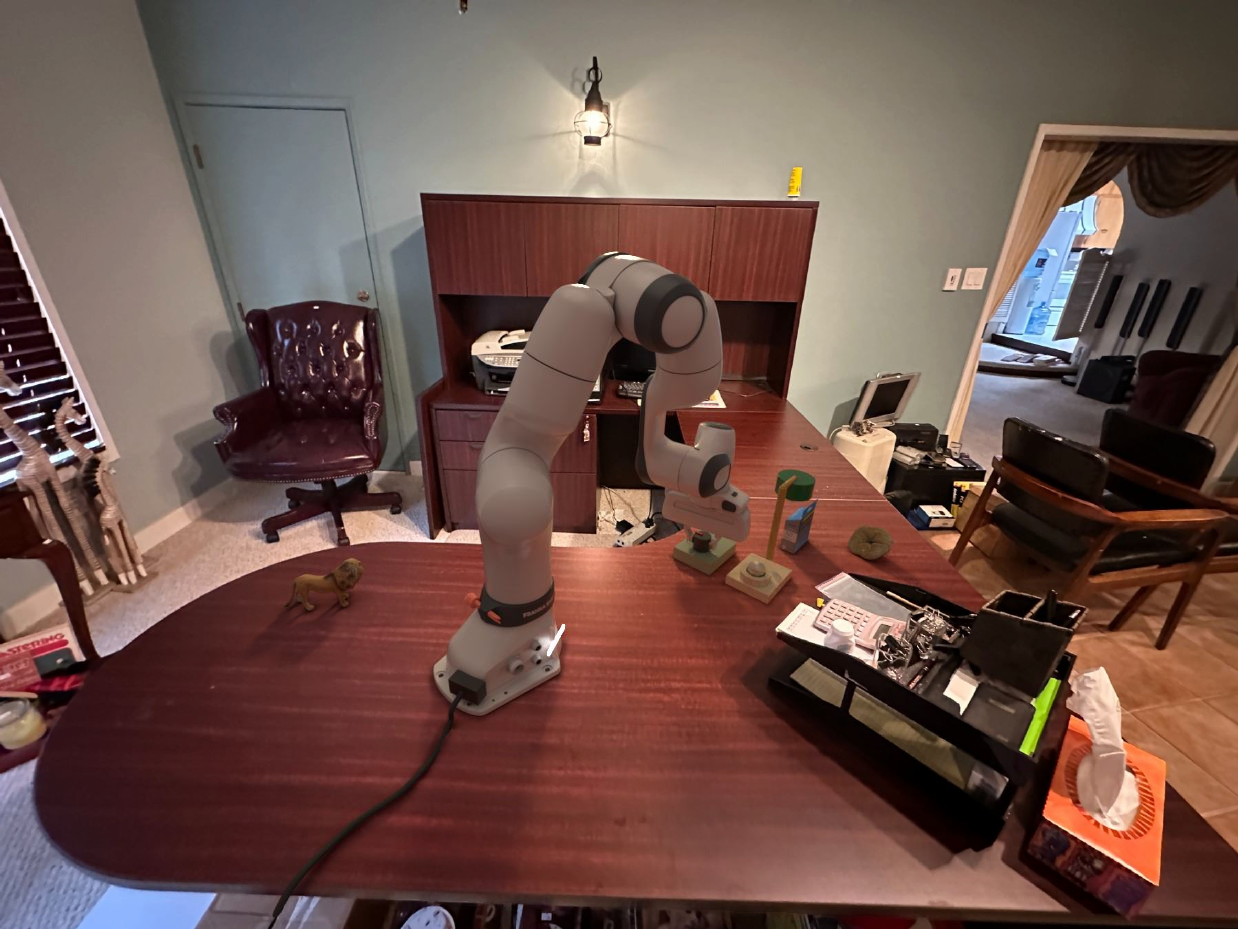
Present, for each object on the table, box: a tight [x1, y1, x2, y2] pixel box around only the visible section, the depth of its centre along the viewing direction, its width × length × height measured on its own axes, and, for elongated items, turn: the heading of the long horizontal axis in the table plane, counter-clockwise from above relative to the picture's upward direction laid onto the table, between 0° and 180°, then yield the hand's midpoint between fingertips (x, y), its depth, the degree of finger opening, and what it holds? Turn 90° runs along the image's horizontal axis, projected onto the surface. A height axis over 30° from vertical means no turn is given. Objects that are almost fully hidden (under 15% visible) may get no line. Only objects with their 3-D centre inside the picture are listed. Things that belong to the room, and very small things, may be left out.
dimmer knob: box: [693, 530, 712, 553], centre depth 115 cm, size 4×4×4 cm
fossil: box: [847, 524, 894, 560], centre depth 121 cm, size 9×4×10 cm
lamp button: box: [747, 561, 765, 577], centre depth 106 cm, size 4×4×2 cm
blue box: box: [779, 498, 819, 555], centre depth 122 cm, size 9×4×12 cm, turn 139°
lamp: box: [764, 468, 816, 561], centre depth 111 cm, size 12×8×19 cm
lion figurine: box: [283, 557, 365, 612], centre depth 96 cm, size 15×5×9 cm, turn 110°
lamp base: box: [724, 552, 793, 605], centre depth 109 cm, size 12×10×4 cm
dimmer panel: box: [672, 529, 737, 576], centre depth 117 cm, size 12×10×3 cm
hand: (701, 544), depth 115 cm, fingers closed on dimmer knob, 4 cm apart
